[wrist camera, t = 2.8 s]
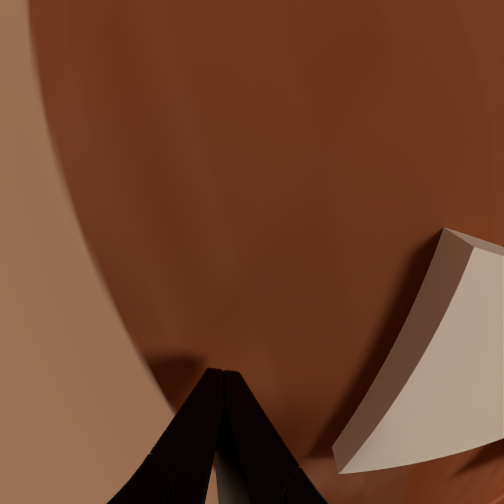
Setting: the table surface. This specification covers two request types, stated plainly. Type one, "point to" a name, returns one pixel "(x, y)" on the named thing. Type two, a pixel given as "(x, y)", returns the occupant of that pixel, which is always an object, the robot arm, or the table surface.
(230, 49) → the table surface
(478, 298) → the pale wall plate
